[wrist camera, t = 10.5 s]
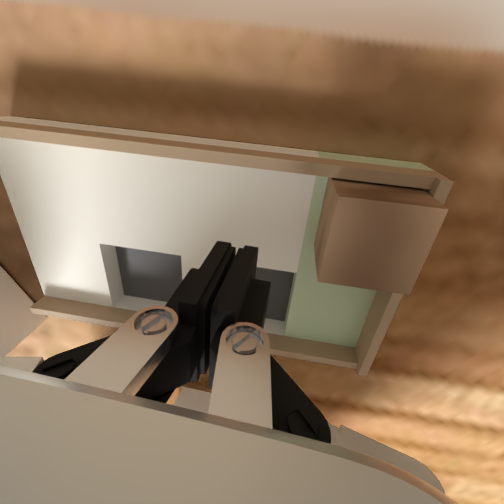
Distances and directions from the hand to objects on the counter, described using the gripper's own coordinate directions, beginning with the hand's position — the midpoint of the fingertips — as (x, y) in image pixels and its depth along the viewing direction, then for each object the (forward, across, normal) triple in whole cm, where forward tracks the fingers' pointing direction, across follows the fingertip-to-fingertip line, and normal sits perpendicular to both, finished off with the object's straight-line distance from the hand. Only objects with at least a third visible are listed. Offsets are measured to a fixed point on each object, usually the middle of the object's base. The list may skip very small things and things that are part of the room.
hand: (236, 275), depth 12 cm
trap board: (+8, +4, +3) cm, 10 cm away
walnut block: (+7, -6, -1) cm, 9 cm away
